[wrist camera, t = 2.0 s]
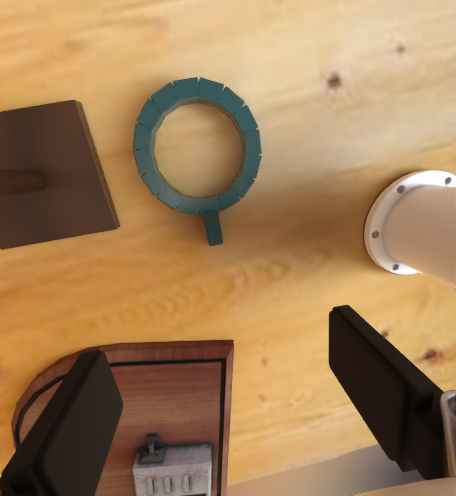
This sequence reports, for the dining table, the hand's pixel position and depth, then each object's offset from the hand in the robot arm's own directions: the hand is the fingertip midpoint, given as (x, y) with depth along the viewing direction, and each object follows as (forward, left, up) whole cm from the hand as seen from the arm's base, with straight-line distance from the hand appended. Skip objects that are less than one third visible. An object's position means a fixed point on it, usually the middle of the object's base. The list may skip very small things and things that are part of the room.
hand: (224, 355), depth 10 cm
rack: (+16, -9, -19) cm, 26 cm away
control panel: (+18, +27, -19) cm, 37 cm away
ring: (0, -7, -19) cm, 20 cm away
